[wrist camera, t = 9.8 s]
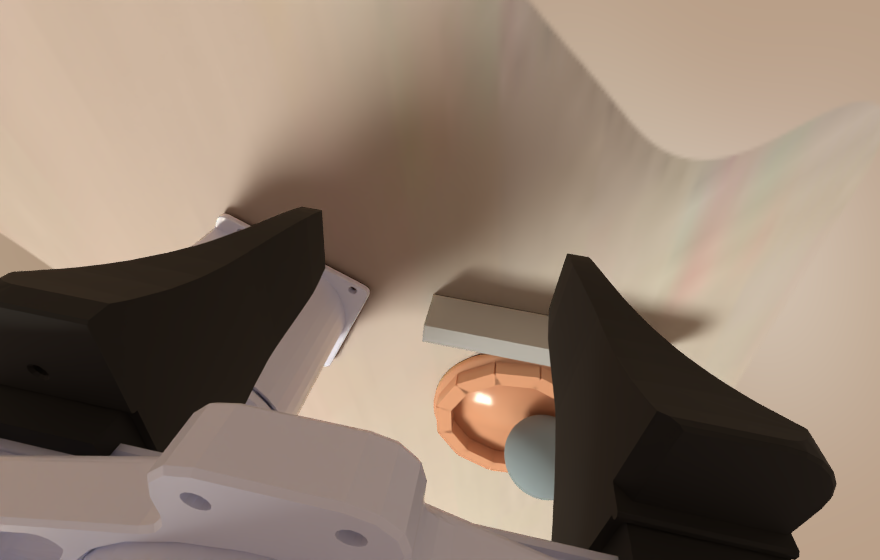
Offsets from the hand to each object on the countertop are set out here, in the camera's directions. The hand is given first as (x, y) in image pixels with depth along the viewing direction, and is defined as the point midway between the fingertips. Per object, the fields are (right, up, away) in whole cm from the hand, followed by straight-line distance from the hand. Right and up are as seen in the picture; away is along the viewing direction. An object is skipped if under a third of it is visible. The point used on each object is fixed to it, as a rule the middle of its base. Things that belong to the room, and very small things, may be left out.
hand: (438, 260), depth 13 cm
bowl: (+5, -10, +17) cm, 20 cm away
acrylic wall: (+6, -3, +13) cm, 14 cm away
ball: (+7, -12, +15) cm, 20 cm away
